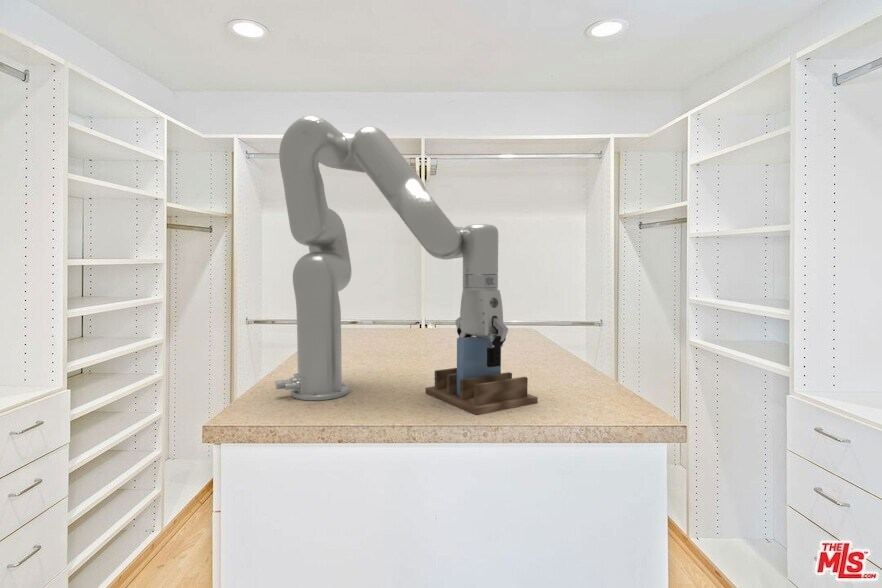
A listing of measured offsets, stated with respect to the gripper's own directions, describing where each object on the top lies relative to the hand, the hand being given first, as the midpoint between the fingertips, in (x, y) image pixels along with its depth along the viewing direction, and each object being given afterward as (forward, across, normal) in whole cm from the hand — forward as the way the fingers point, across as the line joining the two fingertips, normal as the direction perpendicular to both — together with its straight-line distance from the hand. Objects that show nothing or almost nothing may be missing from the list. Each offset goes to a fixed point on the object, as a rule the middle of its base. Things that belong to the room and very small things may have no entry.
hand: (479, 362), depth 106 cm
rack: (+8, 0, 0) cm, 8 cm away
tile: (+6, 0, 0) cm, 7 cm away
